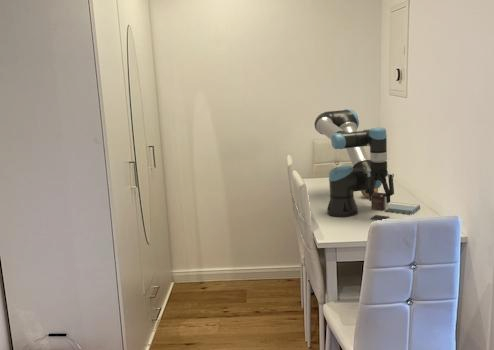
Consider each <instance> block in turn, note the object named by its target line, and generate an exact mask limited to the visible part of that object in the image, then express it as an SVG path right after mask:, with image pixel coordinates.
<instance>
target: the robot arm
mask: <svg viewBox="0 0 494 350" xmlns="http://www.w3.org/2000/svg"><path fill="white" fill-rule="evenodd" d="M313 125H314V129H315V131H316V132H318V133H319V134H321V135H324V136H326V137H327V138H328V139H329V140H330V141H331V142H330V143H331V146H332V148H333V149H334V150H343V149H345V150H346V152H347V154H348V157H349V159H350V161H351V164H352V166H351V165H340V166H336V167H334V168H332V169H330V171H329V173H328V175H329V176H328V181H329V182H328V183H329V201H328V205H327V208H326V211H327V215H329V216H331V215H332V217H336V218H337V217H339V218H344V217H353V216H355V215H357V214H358V213H359V211H358V210H359V209H358V205H357V203H356V200H355V198H354V197H355V196H354V192H361V191H363V190H365V193H368V194H369V198H368V199H369V200H368V201H369V202H371V195H373V192H374V189H378V190H379V189H380V188H381V187H383V191H384V193H385V194H386V196H385V210H387V209H389V204H391V196H393V195H395V187H394V185H395V184H394V176H395V173H389V172H388V161H387V160H388V152H387V151H388V147H387V144H388V143H387V139H388V138H387V136H388V135H387V129H386V128H385V127H382V126H381V127H380V126H379V127H378V126H377V127H371V128H370V129H363V130H359V131H358V128H359V125H360V121H359V116H358V114H357V113H356V111H355V110H353V109H343V110H331V111H324V112H322V113H320V114H319V115H318V116H317V117H315V120H314V124H313ZM364 147H369V154H370V156H369V157H370V159H369V157H368V154H367V152H366V150H365V148H364ZM387 179H388V183H387Z"/></svg>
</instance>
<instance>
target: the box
mask: <svg viewBox="0 0 494 350" xmlns="http://www.w3.org/2000/svg"><path fill="white" fill-rule="evenodd" d="M385 196H386V194H385V192H379V191H378V192H376V193H374V194H373V195H371V201H370V207H371V210H372V211H377V212H378V211H379V212H384V210H385Z"/></svg>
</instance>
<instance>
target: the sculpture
mask: <svg viewBox="0 0 494 350" xmlns="http://www.w3.org/2000/svg"><path fill="white" fill-rule="evenodd" d="M360 192H361V194H362V196H363V197H364V198H368V199H369V194H368V193H365V190H363V191H360ZM376 192H378V193H379V188H378V189H374V192H373V194H374V193H376Z"/></svg>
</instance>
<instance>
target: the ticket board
mask: <svg viewBox="0 0 494 350" xmlns="http://www.w3.org/2000/svg"><path fill="white" fill-rule="evenodd" d="M420 209H421V205H420V204H415V203H413V204H412V203H404V202H390V203H389V209H387V210H384V211H383V212H385V213H392V214H393V213H395V214H398V213H399V214H401V213H402V214H401V215H408V214H409V215H408V216H411V215H412V214H413V215H414V214H416V212H418V211H420ZM410 214H411V215H410Z"/></svg>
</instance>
